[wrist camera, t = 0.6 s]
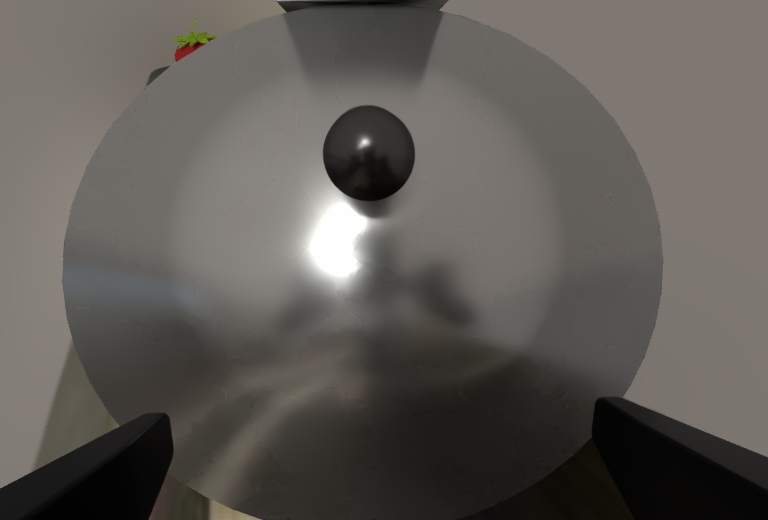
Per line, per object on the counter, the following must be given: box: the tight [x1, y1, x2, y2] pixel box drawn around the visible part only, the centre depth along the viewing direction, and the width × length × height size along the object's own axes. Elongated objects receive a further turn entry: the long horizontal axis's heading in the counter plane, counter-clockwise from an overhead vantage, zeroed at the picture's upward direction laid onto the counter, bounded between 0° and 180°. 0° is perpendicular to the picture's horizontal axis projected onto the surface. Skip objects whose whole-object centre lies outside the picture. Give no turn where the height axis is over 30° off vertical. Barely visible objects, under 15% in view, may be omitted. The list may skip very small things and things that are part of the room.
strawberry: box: [173, 18, 217, 62], centre depth 50 cm, size 6×8×10 cm
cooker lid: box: [62, 0, 663, 520], centre depth 9 cm, size 19×14×2 cm
